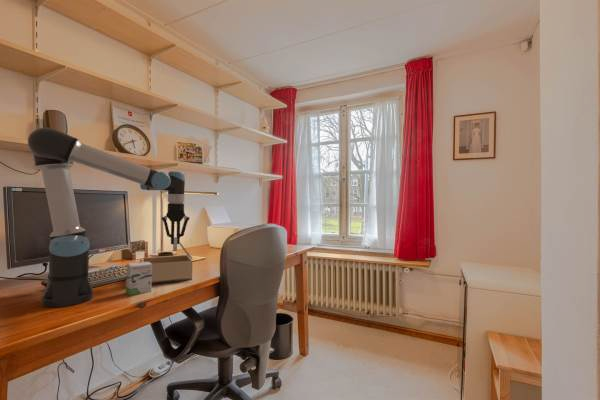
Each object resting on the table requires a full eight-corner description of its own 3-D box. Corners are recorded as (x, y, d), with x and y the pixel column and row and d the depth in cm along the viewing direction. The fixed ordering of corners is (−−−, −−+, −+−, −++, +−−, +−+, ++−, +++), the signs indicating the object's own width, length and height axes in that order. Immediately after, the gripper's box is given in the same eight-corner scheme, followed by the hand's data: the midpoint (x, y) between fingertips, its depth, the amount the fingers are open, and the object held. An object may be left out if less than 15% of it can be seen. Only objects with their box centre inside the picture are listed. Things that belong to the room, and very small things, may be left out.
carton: (134, 287, 125) (134, 266, 125) (134, 275, 144) (135, 257, 144) (193, 281, 137) (193, 261, 137) (186, 271, 156) (186, 253, 156)
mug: (180, 271, 155) (181, 253, 155) (167, 274, 149) (167, 255, 149) (167, 268, 162) (168, 251, 162) (154, 270, 155) (154, 253, 155)
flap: (191, 259, 140) (181, 246, 138) (186, 254, 152) (177, 242, 150) (192, 258, 140) (182, 245, 138) (187, 253, 153) (178, 241, 150)
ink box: (128, 295, 115) (129, 266, 115) (125, 292, 119) (126, 263, 119) (152, 291, 121) (152, 263, 121) (148, 288, 125) (149, 261, 125)
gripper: (162, 203, 137) (161, 253, 137) (191, 203, 143) (190, 251, 143) (160, 202, 143) (159, 250, 143) (188, 203, 150) (187, 248, 150)
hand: (175, 250), depth 143 cm, fingers closed
